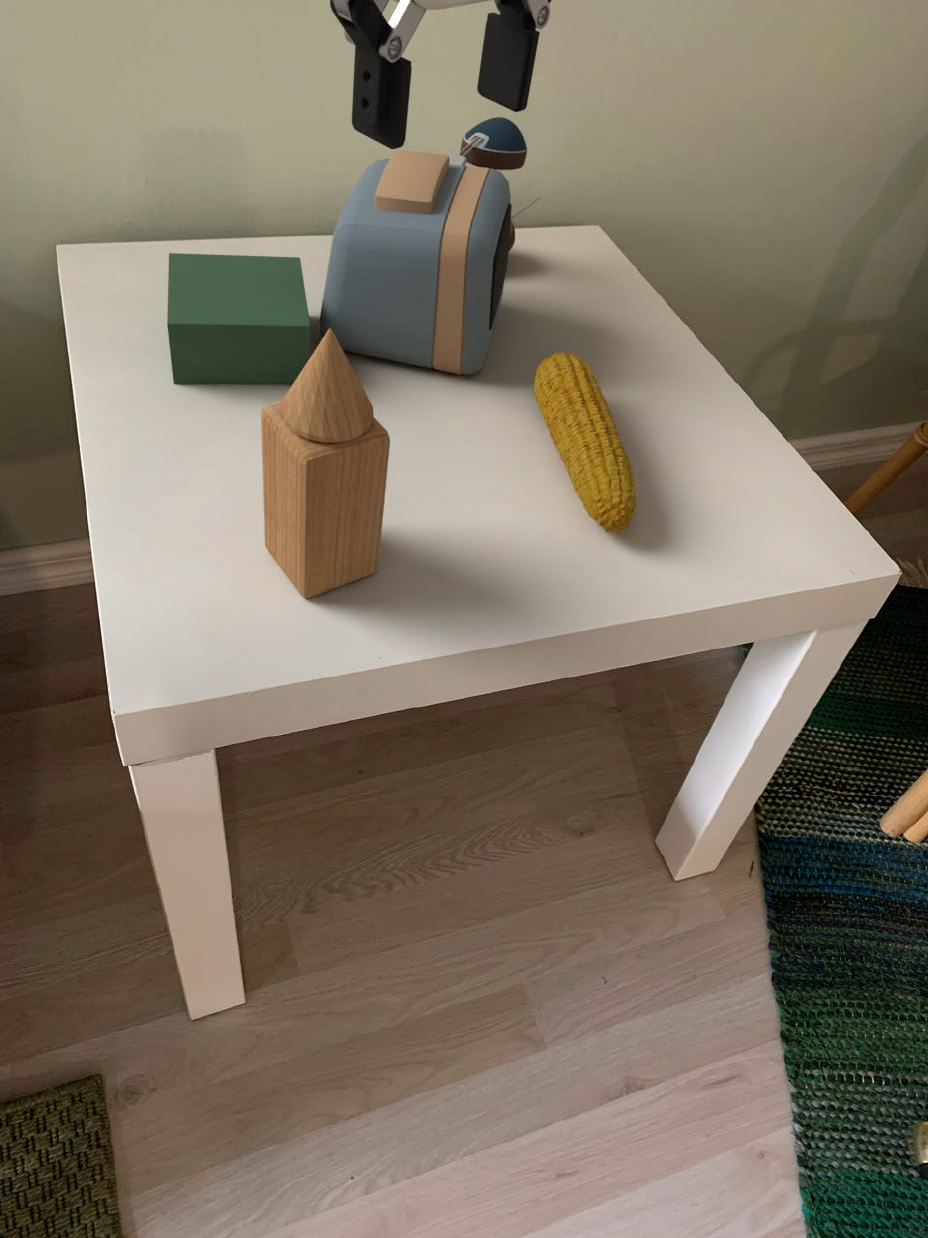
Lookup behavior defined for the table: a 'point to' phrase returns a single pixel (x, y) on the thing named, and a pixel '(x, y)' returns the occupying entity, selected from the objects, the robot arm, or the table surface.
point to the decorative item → (324, 475)
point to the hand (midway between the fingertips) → (442, 119)
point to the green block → (237, 319)
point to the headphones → (493, 150)
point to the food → (586, 439)
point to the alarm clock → (419, 262)
